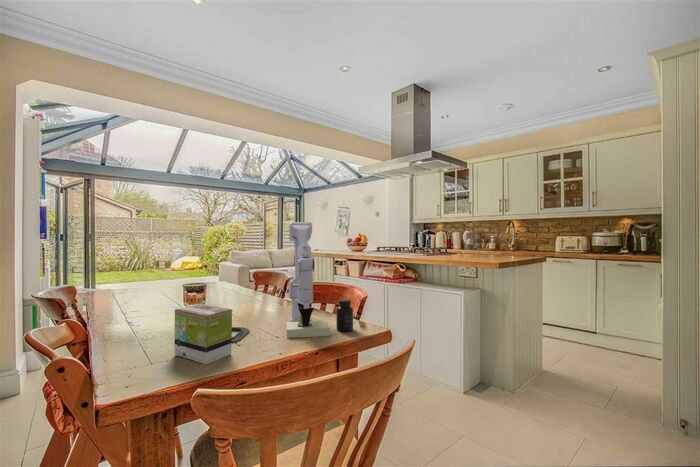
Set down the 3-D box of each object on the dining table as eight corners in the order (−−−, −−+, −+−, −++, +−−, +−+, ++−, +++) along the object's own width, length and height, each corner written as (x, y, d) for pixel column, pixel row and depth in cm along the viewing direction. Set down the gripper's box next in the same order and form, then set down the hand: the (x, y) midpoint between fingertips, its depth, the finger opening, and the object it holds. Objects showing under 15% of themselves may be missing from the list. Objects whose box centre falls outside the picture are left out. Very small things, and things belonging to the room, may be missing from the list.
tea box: (172, 356, 102) (173, 308, 102) (200, 346, 111) (201, 302, 111) (205, 365, 95) (206, 314, 95) (232, 354, 104) (233, 307, 104)
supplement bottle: (353, 328, 136) (354, 298, 136) (352, 332, 129) (352, 302, 129) (337, 327, 137) (337, 298, 137) (335, 332, 130) (335, 301, 130)
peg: (298, 331, 130) (299, 311, 130) (309, 331, 131) (309, 310, 131) (298, 334, 126) (298, 313, 126) (309, 334, 127) (309, 313, 127)
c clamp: (230, 348, 111) (230, 340, 111) (183, 346, 113) (183, 338, 113) (255, 331, 131) (255, 324, 131) (214, 329, 133) (214, 322, 133)
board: (286, 329, 133) (286, 322, 133) (325, 327, 136) (326, 320, 136) (286, 337, 122) (286, 329, 122) (329, 335, 125) (329, 327, 125)
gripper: (294, 285, 135) (293, 319, 135) (295, 291, 121) (295, 328, 121) (311, 285, 136) (311, 318, 136) (315, 291, 122) (314, 328, 122)
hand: (305, 323), depth 129 cm, fingers open, 7 cm apart
